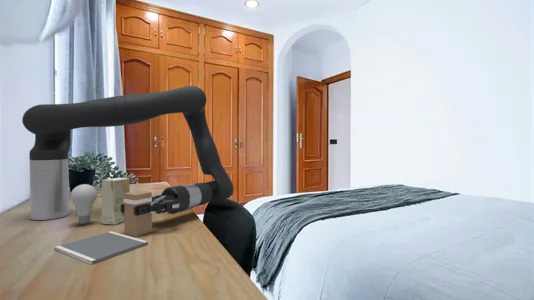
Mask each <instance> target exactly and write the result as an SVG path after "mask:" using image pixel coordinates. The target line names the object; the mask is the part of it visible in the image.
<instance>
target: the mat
mask: <svg viewBox="0 0 534 300" xmlns="http://www.w3.org/2000/svg"><path fill="white" fill-rule="evenodd" d="M147 245H149V241H147V240H144V239H140V238H137V237H134V236H131V235H127V234H124V233H123V234H122V233H118V232H115V231H107V232H104V233H100V234H97V235H94V236H89V237H85V238H81V239H77V240H75V241H72V242H71V241H70V242H67V243H65V244H60V245H56V246H54V251H57V252H60V253H62V254H65V255H67V256H69V257H72V258H74V259H77V260H79V261H82V262H84V263H86V264H89V265H94V264H96V263H99V262H103V261H105V260H108V259H111V258H114V257H117V256H119V255H122V254H125V253H128V252H131V251H133V250H136V249H139V248H141V247H145V246H147Z"/></svg>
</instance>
